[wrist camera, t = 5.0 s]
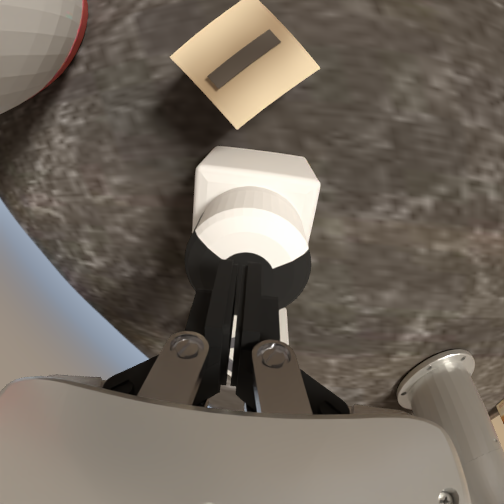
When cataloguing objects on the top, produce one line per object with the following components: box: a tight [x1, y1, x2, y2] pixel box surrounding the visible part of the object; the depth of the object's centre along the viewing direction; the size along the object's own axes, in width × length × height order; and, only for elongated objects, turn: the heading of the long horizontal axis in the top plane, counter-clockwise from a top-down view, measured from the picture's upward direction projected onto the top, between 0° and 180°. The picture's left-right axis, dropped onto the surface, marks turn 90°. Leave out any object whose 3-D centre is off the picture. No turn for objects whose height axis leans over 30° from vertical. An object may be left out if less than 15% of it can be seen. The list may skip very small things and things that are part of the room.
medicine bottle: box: [185, 146, 320, 316], centre depth 19 cm, size 7×7×12 cm
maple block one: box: [170, 0, 320, 129], centre depth 17 cm, size 6×6×6 cm
